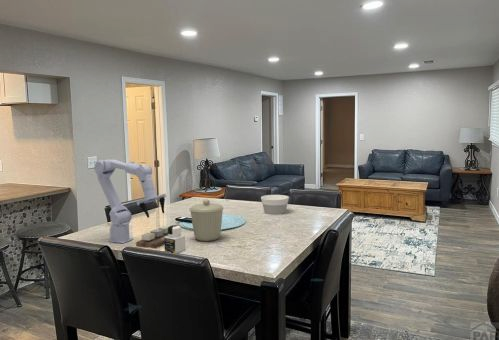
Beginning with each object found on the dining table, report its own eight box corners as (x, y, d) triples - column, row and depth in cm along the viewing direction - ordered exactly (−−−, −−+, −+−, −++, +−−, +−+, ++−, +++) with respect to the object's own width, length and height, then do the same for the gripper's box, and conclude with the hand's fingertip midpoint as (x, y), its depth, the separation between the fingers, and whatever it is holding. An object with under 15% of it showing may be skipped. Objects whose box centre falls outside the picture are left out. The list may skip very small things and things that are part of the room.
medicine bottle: (164, 251, 185) (163, 226, 184) (175, 247, 191) (174, 223, 190) (175, 253, 181) (174, 228, 180) (185, 249, 187) (184, 225, 186)
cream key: (141, 239, 195) (141, 234, 195) (147, 237, 200) (147, 232, 199) (149, 240, 194) (149, 235, 193) (154, 238, 198) (154, 233, 198)
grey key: (150, 236, 202) (150, 231, 202) (155, 233, 206) (155, 229, 206) (157, 236, 200) (157, 232, 200) (162, 234, 204) (162, 230, 204)
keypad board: (136, 245, 195) (136, 241, 195) (162, 234, 215) (162, 230, 215) (156, 248, 190) (155, 243, 190) (180, 236, 211) (180, 232, 210)
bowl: (290, 215, 257) (290, 199, 256) (261, 215, 257) (260, 199, 256) (288, 209, 276) (287, 194, 275) (261, 209, 276) (260, 194, 275)
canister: (207, 232, 218) (206, 195, 216) (231, 237, 207) (230, 198, 204) (183, 239, 204) (181, 200, 202) (207, 245, 193) (205, 204, 191)
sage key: (158, 232, 208) (158, 228, 208) (163, 230, 213) (163, 226, 212) (165, 233, 207) (165, 228, 206) (170, 231, 211) (170, 226, 211)
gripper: (132, 193, 189) (140, 220, 189) (161, 185, 190) (169, 211, 190) (135, 193, 196) (142, 218, 196) (163, 185, 197) (170, 210, 197)
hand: (156, 215), depth 193 cm, fingers open, 7 cm apart
